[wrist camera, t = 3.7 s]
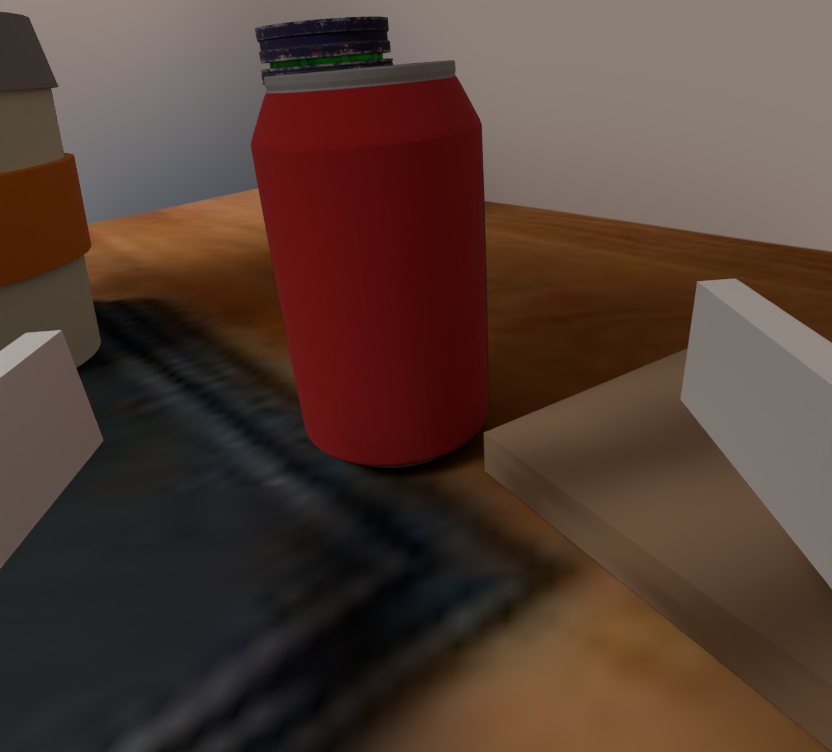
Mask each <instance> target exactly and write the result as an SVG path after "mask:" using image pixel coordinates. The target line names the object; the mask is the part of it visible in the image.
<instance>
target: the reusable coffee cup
mask: <svg viewBox="0 0 832 752" xmlns="http://www.w3.org/2000/svg"><path fill="white" fill-rule="evenodd" d="M54 87H58V85H57V83H56V80H55V78H54V75H53V73H52V71H51V68H50V66H49V64H48V61H47V59H46V57H45V54H44V52H43V50H42V47H41V45H40V43H39V40H38V38H37V36H36V33H35V31H34V29H33V26H32V24H31V21H30V19H29V17H26V16H24V15H19V14H13V13H6V12H0V351H1V350H2V349H4V348H5V347H7V346H8V345H9V344H11V343H12V342H14V341H15V340H16V339H18V338H19V337H21V336H22V335H23V334H25V333H30V332H43V331H56V330H62V332H63V335H64V337H65V340H66V343H67V345H68V348H69V350H70V353H71V356H72V358H73V361H74V364H75V366H76V368H77V367H78V366H80V365H82V364H83V363H84V362H86V361H87V360H88V359H89V358H91V357H92V356H93V355H94V354H95V353H96V351H97V350H98V349H99V347H100V344H101V340H100V335H99V330H98V325H97V319H96V314H95V309H94V304H93V299H92V294H91V289H90V284H89V279H88V274H87V269H86V263H85V258H84V254H85V253H87V252H88V251H89V249H90V248H91V242H90V236H89V231H88V226H87V221H86V215H85V210H84V205H83V200H82V195H81V189H80V184H79V179H78V173H77V168H76V163H75V158H74V155H73V154H69V153H64V151H63V146H62V141H61V136H60V131H59V126H58V121H57V116H56V111H55V106H54V101H53V95H52V90H51V88H54Z"/></svg>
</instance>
